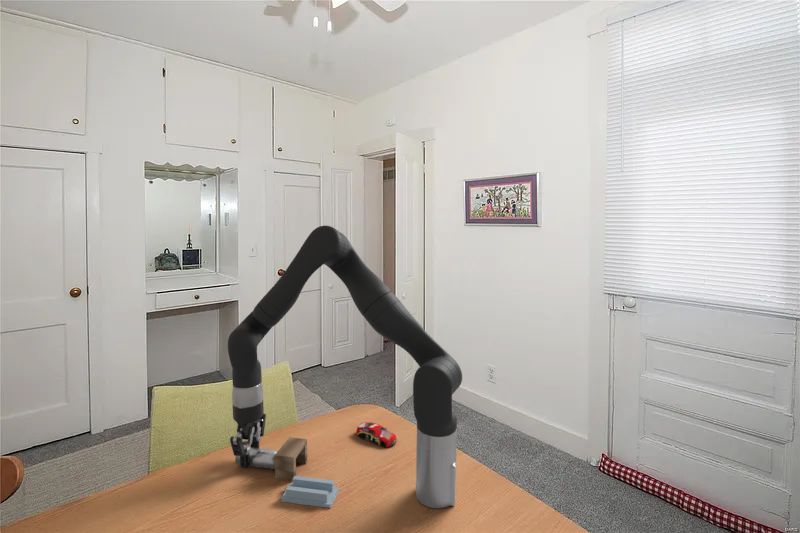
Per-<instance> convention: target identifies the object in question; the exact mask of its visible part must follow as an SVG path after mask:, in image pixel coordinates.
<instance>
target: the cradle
mask: <svg viewBox="0 0 800 533" xmlns="http://www.w3.org/2000/svg"><path fill="white" fill-rule="evenodd" d="M286 486H287V487H286V488H285V491H284V493H283V494H282V495H281V497H280V502H282V503H283V502H284V503H291V504H297V505H305V506H313V507H322V508H328V509H331V508H332V506H333V503H334V502H335V499H336V497H337V495H338V493H339V492H340V491H339V490H340V487H338V486H335V480H334V479H333V480H331V479H323V478H314V477H307V476H299V475H296V476H294V477H293V481H290V483H289V485H286Z"/></svg>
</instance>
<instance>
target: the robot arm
mask: <svg viewBox="0 0 800 533" xmlns="http://www.w3.org/2000/svg"><path fill="white" fill-rule="evenodd" d="M294 256H295V257H294V258H293V259H292V261H291V262H290V264H289V265H288V266H287V268H286V269H285V271H284V272H283V273H282V275H281V276H280V278H279V279H278V280H277V281H276V283H274V285H273V286H272V287H271V288H270V289H269V291H267V293H266V294H265V295H264V296H263V297H262V298H260V301H259V302H258V303H257V304H256V305H255V306H254V308H253V310H252V311H251V312H250V313H249V314H248V315H247V316H246V317H245V318H244V319H243V320H242V321H241V322H240V323H239V324H238V325H237V326H236V327H235V328H234V330H232V331H231V332H230V334H229V336H228V339H227V352H228V358H229V362H230V365H231V367H232V368H231V369H232V370H231V371H232V372H231V373H232V374H231V375H232V376H231V377H232V389H231V400H232V404H231V405H232V406H231V407H232V419H233V421H234V422H235V423H236V424H237V428H236V434H235V435H233V436H230V438H229V442H230V445H231V450H232V452H233V456H235V457H236V456H240V465H239V466H240V467H241V468H246V469H248V468H249V467H251V466H250V456H249V449H250V447H253V448H260V442H261V439H262V437H264V434H265V427H266V418H267V415H266V413H264V412H265V411H264V389H263V387H264V386H263V383H262V382H263V380H262V376H263V375H262V366H261V365H262V364H261V362H260V360H259V359H258V346H259V344H260V342H262V341H263V339H264V338H265V337H266V335H267V334H268V333H269V332H270V331H271V329H272V328H273V327H274V326H276V325H277V324H278V323H279V322H280V321H281V320H282V319H283V318H284V317H285V316H286V315H287V314H288V312H289V311H290V310H291V309H292V307H293V306H294V305H295V304H296V302H297V301H298V298H299V297H300V295H301V292H302V291H303V289H304V287H305V285H306V283H307V282H308V281H309V279H310V277H311V276H312V275H313V274H314V273H315V272H316V271H317V270H318V269H319V268H320V267H322V266H323V265H325V266H326V267H327V268H328V269H330V270H331V271H332V272H333V273H334V274H335V275H336V276H337V277H338V278H339V280H340V281H341V282H342V283H343V285H345V287H346V288H347V291H348V292H349V294H350V296H351V298H352V301H353V303H354V305H355V307H356V308H357V310H358V311H359V312H360V314H361V316H363V317H364V319H365V321H366V322H368V324H369V325H370V326H371V327H372V329H373V330H374V331H375V332H376V333H377V334H378V335H380V336H382V337H383V338H385V339H386V340H388V341H389V342H392V343H393V344H395V345H396V346H399V347H400V348H402V349H403V350H404V351H406V352H407V354H409V355H410V356H411V357H412V358H413V360H414V361H415V362H416V364H417V365H418V366H419V367H418V369H417V370H415V373H414V377H413V382H412V399H413V400H412V401H413V414H414V417H415V420H416V450H415V451H416V455H415V456H416V458H415V459H416V460H415V461H416V465H415V469H416V470H415V472H416V473H415V477H416V480H415V496H416V499H417V501H418V502H419V503H420V504H422V505H423V506H425V507H427V508H431V509H443V508H446V507H447V508H448V507H450V506H451V507H454V506H455V504H456V490H457V489H456V487H457V484H456V481H457V476H456V475H457V436H458V435H457V433H458V432H457V428H458V420H457V419H458V418H457V415H456V414H455V413H454V412H453V394H455V393H456V391H457V390H458V389H459V388H460V386H461V384H462V382H463V372H462V369H461V367H460V365H459V364H458V362H457V361H456V360H455V359H454V358H453V357H452V356H451V355H450V354H449V353H448V351H446V350H445V349H444V348H443V347H442V346H441V345H440V344H439V343H438V342H437V341H436V340H435V339H434V338H433V337H432V336H430V334H429V333H428V332H427V331H426V330H425V328H424V327H423V326H422V325H421V324H420V323H419V322H418V321H417V319H416V318H415V317H414V316H413V315H412V314H411V313H410V311H409V310H408V309H407V308H406V306H405V305H404V304H403V303H402V301H401V300H400V299H399V298H398V297H397V295H396V294H394V292H393V290H391V289H390V288H389V287H388V286H387V285H386V283H384V281H383V280H382V279H381V278H380V277H378V275H377V274H375V273H374V272H373V271H372V270H371V269H370V268H369V267H368V266H367V265H366V263H365V262H364V261H363V260H362V258H361V257H360V256H359V254H358V252H357V251H356V250H355V248H354V247H353V245H352V244H351V242H350V241H349V239H348V238H347V237H346V236H345V235H344V233H342V232H340V231H339V230H338V229H336V228H335V227H333V226H331V225H320V226H318V227H316V228H314V229H313V230H312V231H311V232H310V233H309V235H308V236H307V237H306V239H305V240H304V242H303V243H302V246H301V247H300V248H299V250H298V252H297V253H296V254H295V255H294ZM244 446H245V447H246V449H244Z"/></svg>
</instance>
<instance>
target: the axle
mask: <svg viewBox="0 0 800 533" xmlns="http://www.w3.org/2000/svg"><path fill="white" fill-rule="evenodd" d="M244 449H246V446H245V445H244ZM278 450H279V449H278ZM278 450H276V449H268V448H261V447H259V448H253V447H250V449H249V456H250V466H249V467H256V468H263V469H271V470H275V454H276V453H277V452H278ZM234 460H235V464H236V465H239V466H241V465H240V456H235V459H234Z"/></svg>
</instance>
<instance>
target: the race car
mask: <svg viewBox="0 0 800 533" xmlns="http://www.w3.org/2000/svg"><path fill="white" fill-rule="evenodd" d="M356 435H357V437H359V438H360V439H362V440H365V441H368V442H370V443H373V444H375V445H378V446H380V447H382V448H384V449H386V448H390V447H393V446H394V445H396V443H397V436H396V434H395V433H393V432H391V431H389V430H388V429H387V427H384V426H382V425H381V424H378V423H375V422H371V421H370V422H361V423H360V424H359V425H358V426H357V428H356Z"/></svg>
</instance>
